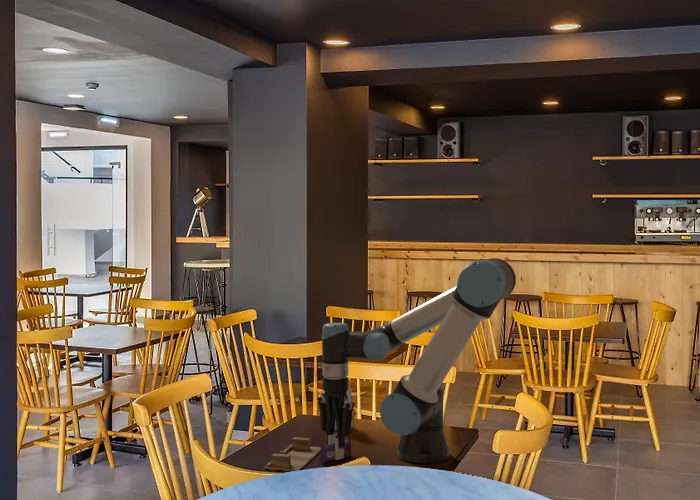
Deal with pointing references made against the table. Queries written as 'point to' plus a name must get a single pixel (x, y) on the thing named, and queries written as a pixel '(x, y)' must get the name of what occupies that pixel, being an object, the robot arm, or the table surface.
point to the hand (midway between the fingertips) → (336, 457)
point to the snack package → (329, 451)
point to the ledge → (294, 456)
